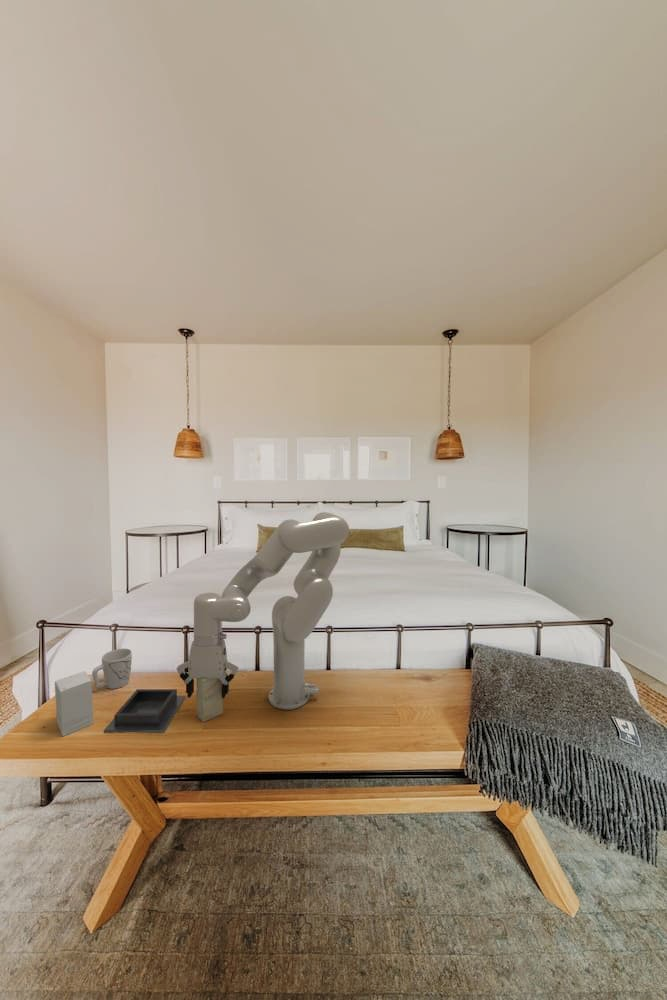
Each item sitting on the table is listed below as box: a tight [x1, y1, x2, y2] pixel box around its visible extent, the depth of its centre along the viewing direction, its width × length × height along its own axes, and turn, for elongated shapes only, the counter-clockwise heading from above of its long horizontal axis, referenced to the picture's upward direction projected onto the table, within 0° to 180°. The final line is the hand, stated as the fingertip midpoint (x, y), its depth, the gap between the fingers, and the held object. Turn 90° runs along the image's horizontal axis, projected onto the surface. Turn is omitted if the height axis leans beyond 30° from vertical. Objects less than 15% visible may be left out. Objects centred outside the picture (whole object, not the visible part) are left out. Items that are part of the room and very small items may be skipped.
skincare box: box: [196, 678, 224, 723], centre depth 106 cm, size 6×4×12 cm
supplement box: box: [54, 671, 94, 737], centre depth 102 cm, size 7×7×13 cm
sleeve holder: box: [103, 688, 186, 734], centre depth 106 cm, size 16×15×4 cm
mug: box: [91, 648, 133, 690], centre depth 120 cm, size 11×8×10 cm
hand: (207, 695), depth 106 cm, fingers open, 9 cm apart
